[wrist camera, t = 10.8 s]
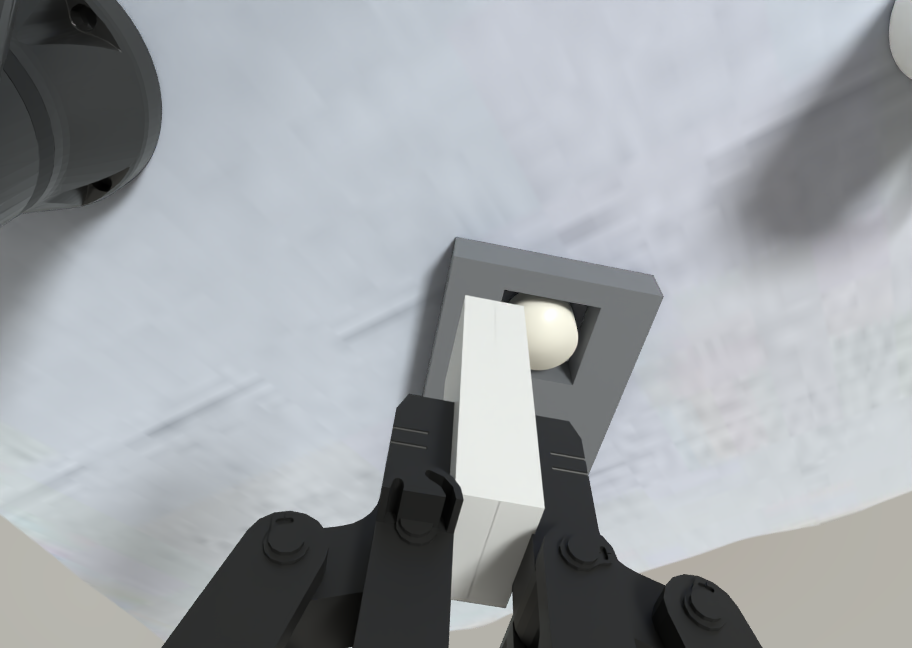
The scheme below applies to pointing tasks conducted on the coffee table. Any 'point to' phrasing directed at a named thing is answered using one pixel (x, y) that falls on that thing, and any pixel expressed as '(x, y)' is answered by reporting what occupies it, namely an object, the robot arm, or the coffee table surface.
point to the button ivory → (548, 330)
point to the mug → (902, 35)
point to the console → (599, 338)
